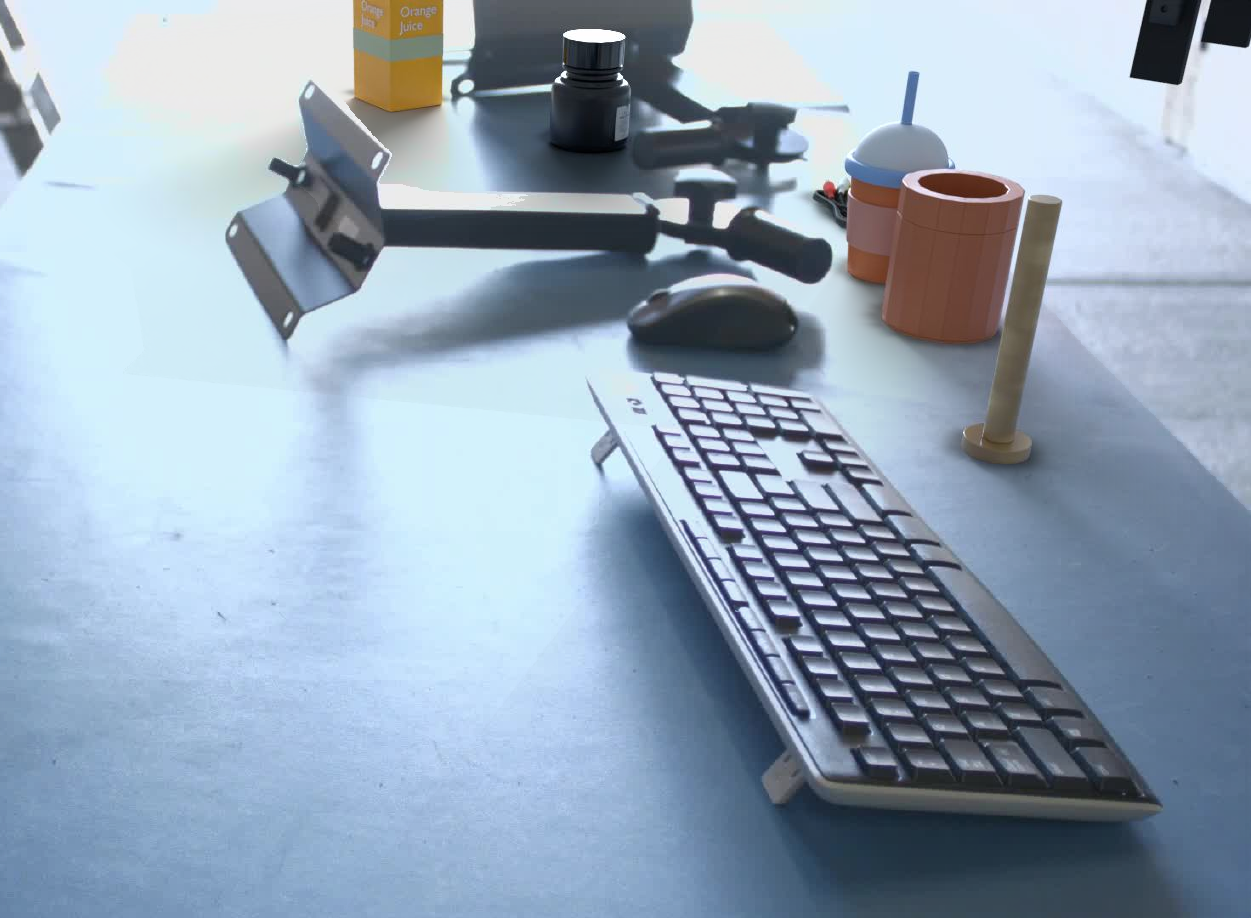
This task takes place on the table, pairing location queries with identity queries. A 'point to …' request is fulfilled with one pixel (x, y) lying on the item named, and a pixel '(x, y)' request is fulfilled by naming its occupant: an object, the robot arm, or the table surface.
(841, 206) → the composite cable
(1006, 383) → the brass-colored tamper
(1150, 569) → the table surface
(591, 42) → the ink bottle
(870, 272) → the cup with straw
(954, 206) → the jar
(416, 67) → the orange juice
